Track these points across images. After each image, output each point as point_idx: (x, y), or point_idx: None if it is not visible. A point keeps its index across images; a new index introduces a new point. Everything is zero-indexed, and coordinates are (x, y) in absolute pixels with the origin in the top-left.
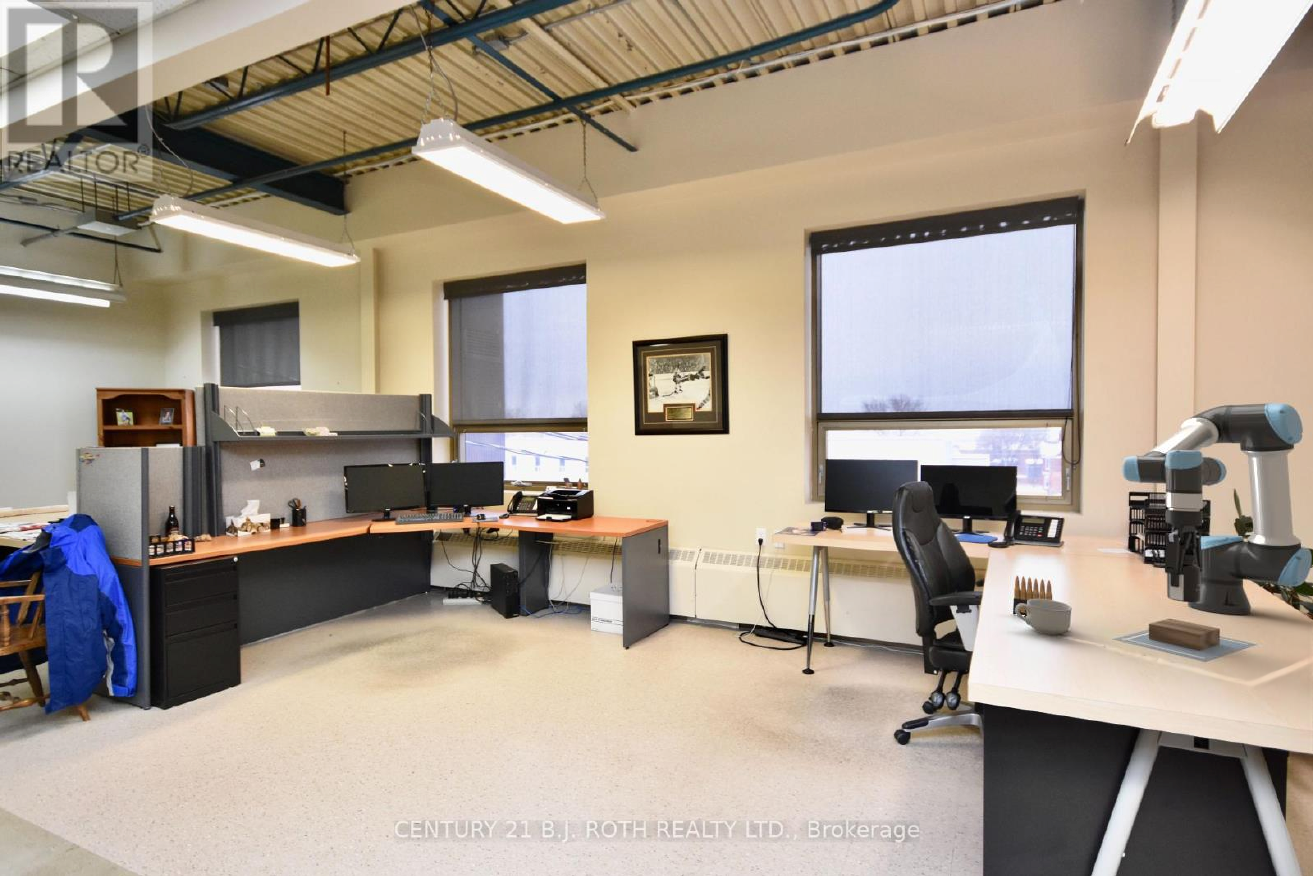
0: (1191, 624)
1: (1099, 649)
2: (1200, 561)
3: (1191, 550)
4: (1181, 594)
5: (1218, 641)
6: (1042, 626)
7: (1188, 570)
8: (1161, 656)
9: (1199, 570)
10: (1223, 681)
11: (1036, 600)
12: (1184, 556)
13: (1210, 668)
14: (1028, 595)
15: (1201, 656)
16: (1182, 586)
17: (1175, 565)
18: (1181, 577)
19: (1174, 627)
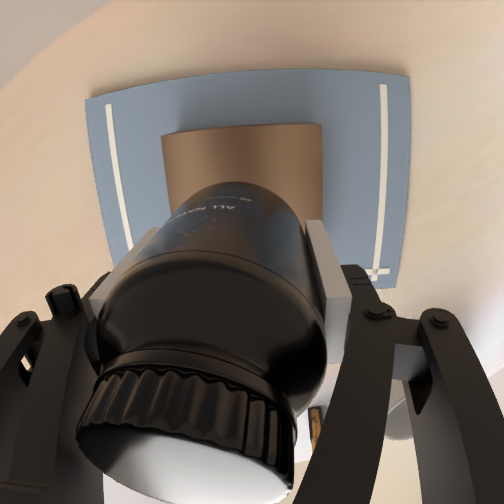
0: None
1: (461, 267)
2: (7, 345)
3: (65, 474)
4: (324, 235)
5: (181, 131)
6: None
7: (301, 301)
8: (413, 170)
9: (176, 258)
10: (470, 30)
11: (398, 436)
12: (282, 451)
13: (410, 64)
14: None
15: (368, 97)
16: (327, 253)
17: (470, 354)
18: (347, 289)
19: (294, 211)
